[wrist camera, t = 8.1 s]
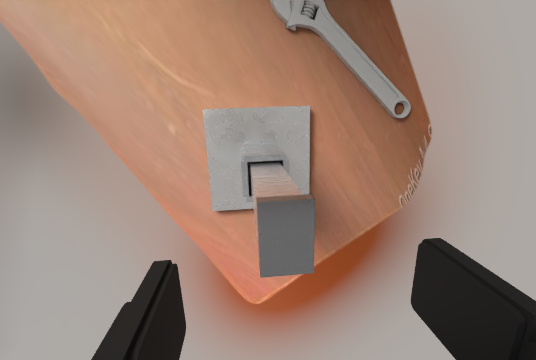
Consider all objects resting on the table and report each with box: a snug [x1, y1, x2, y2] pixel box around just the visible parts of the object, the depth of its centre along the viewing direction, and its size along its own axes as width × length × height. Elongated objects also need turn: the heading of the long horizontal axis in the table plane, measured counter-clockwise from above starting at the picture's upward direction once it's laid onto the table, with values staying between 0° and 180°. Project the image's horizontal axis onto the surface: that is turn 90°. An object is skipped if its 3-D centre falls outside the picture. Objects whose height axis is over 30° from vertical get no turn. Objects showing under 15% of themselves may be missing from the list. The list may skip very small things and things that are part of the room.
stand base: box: [203, 106, 310, 211], centre depth 32 cm, size 14×14×12 cm
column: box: [249, 160, 315, 278], centre depth 23 cm, size 4×3×18 cm
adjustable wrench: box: [270, 0, 411, 118], centre depth 35 cm, size 25×6×2 cm, turn 44°
